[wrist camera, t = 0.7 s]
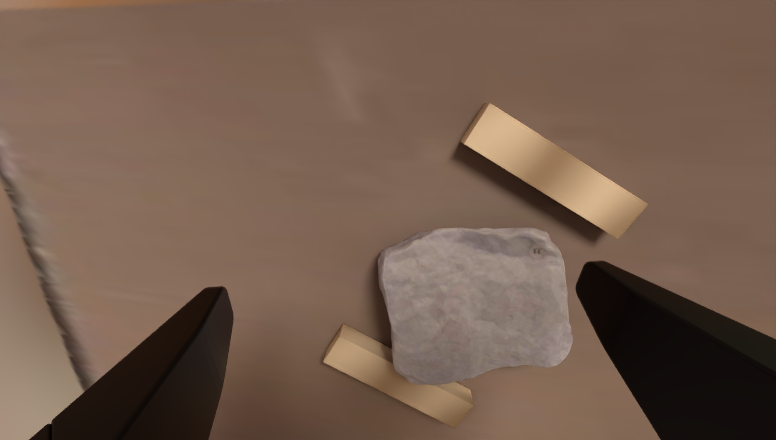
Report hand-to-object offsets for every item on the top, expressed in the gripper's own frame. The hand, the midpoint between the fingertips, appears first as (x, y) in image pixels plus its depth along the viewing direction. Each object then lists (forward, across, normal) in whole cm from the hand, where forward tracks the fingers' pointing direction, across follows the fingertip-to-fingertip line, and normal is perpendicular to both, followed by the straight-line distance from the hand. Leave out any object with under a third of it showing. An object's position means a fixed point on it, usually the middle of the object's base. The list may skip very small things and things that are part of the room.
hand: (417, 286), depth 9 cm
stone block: (+11, -7, +10) cm, 17 cm away
